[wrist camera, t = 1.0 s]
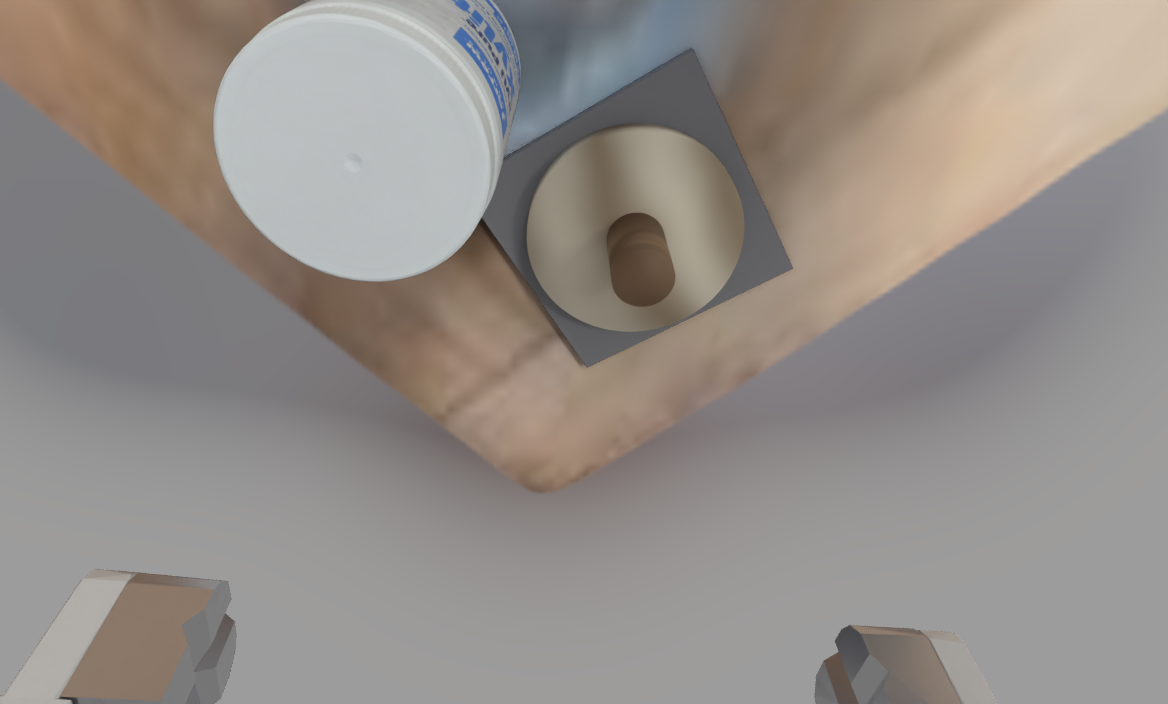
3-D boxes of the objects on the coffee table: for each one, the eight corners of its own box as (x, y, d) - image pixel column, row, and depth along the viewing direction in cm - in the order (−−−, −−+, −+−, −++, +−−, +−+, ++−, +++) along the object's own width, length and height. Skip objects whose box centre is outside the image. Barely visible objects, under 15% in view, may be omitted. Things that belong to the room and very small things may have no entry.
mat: (691, 47, 36) (693, 50, 36) (790, 263, 43) (793, 268, 43) (461, 182, 40) (460, 186, 40) (586, 362, 47) (587, 367, 46)
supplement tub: (556, 34, 36) (554, 121, 24) (467, 189, 40) (427, 331, 28) (373, -89, 33) (262, -61, 21) (298, 94, 37) (170, 206, 25)
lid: (683, 79, 37) (703, 112, 32) (771, 262, 43) (798, 315, 38) (486, 193, 40) (475, 239, 35) (593, 349, 46) (597, 409, 41)
